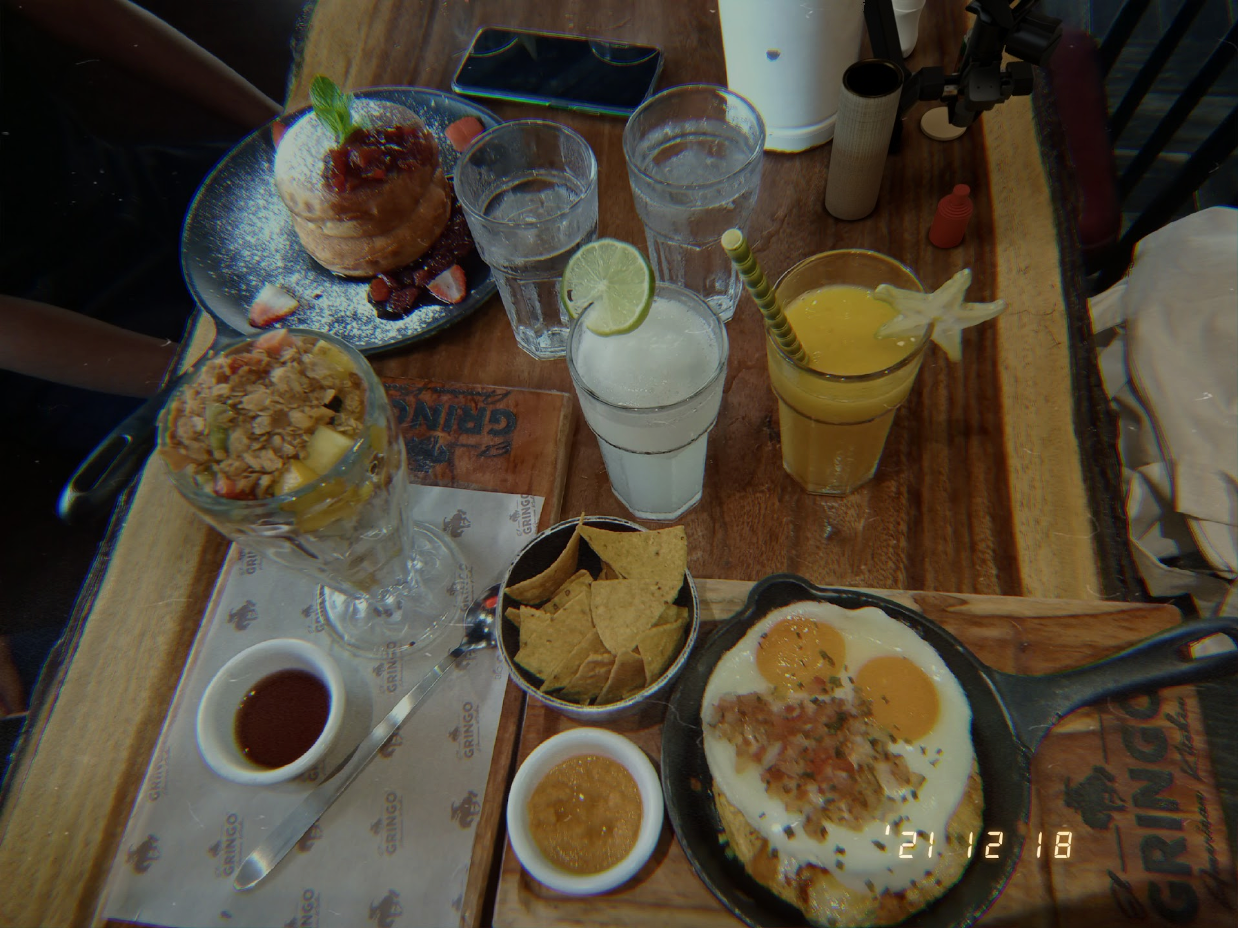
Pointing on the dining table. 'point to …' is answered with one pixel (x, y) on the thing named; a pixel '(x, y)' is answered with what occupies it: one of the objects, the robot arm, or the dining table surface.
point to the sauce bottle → (951, 218)
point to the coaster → (939, 125)
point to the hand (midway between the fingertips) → (960, 122)
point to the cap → (962, 116)
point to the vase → (862, 136)
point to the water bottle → (907, 22)
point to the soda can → (962, 55)
